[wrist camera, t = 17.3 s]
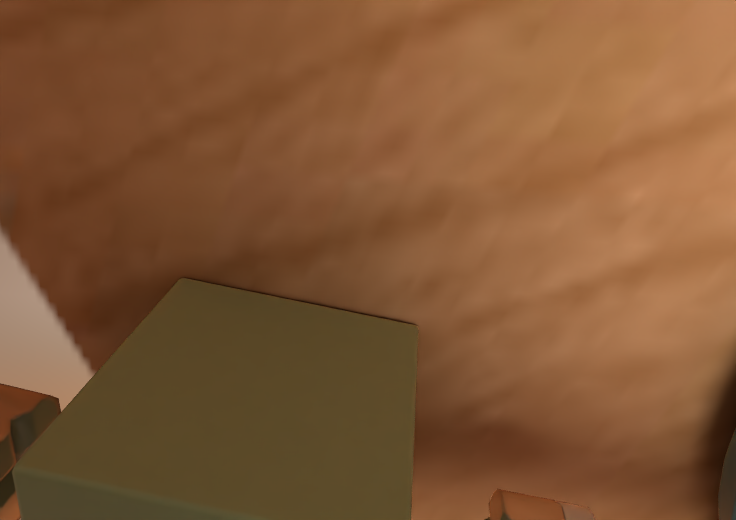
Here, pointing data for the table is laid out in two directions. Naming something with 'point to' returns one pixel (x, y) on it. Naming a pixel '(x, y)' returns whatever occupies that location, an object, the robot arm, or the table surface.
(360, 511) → the block
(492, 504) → the robot arm
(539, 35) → the table surface
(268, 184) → the table surface
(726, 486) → the lid
